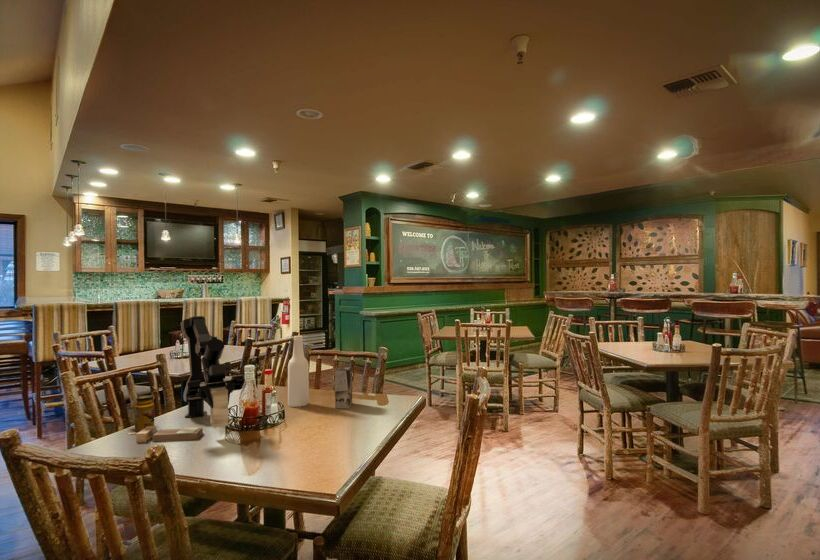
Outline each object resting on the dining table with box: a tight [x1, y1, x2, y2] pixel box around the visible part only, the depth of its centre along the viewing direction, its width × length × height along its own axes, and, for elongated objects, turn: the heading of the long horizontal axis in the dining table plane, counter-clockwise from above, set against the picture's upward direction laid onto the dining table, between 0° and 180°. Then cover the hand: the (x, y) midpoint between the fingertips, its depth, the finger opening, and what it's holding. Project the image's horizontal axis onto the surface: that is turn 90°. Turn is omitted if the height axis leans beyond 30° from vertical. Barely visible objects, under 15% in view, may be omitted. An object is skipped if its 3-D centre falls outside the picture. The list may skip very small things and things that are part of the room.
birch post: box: [209, 387, 229, 429], centre depth 151 cm, size 4×4×12 cm
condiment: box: [127, 394, 156, 435], centre depth 159 cm, size 7×8×12 cm
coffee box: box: [334, 366, 353, 409], centre depth 191 cm, size 9×6×16 cm
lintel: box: [135, 425, 157, 443], centre depth 151 cm, size 8×3×3 cm, turn 8°
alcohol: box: [287, 335, 310, 408], centre depth 193 cm, size 9×9×30 cm
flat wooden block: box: [152, 426, 204, 442], centre depth 151 cm, size 6×14×2 cm, turn 98°
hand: (220, 406), depth 150 cm, fingers closed on birch post, 4 cm apart
